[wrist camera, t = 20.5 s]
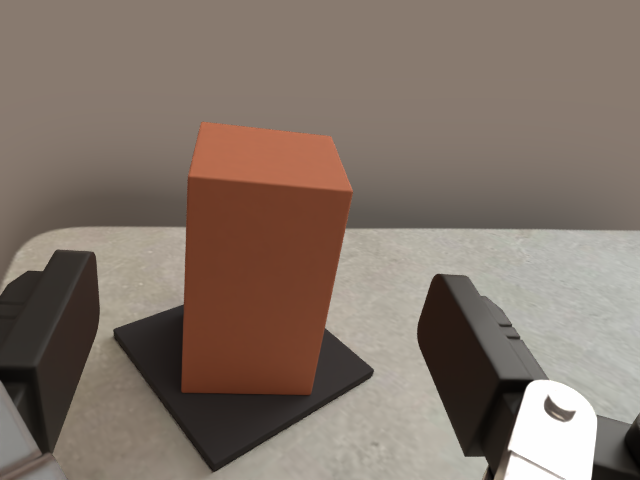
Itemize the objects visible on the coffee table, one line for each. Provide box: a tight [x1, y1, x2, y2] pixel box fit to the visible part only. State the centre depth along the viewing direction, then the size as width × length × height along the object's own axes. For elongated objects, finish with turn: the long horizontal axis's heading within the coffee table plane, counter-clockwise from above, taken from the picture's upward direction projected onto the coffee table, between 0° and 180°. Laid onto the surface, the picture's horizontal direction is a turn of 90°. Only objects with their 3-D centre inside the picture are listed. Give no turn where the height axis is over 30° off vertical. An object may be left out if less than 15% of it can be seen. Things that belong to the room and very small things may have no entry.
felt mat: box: [113, 305, 374, 471], centre depth 22 cm, size 8×8×1 cm
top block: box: [181, 122, 353, 395], centre depth 20 cm, size 5×5×9 cm
